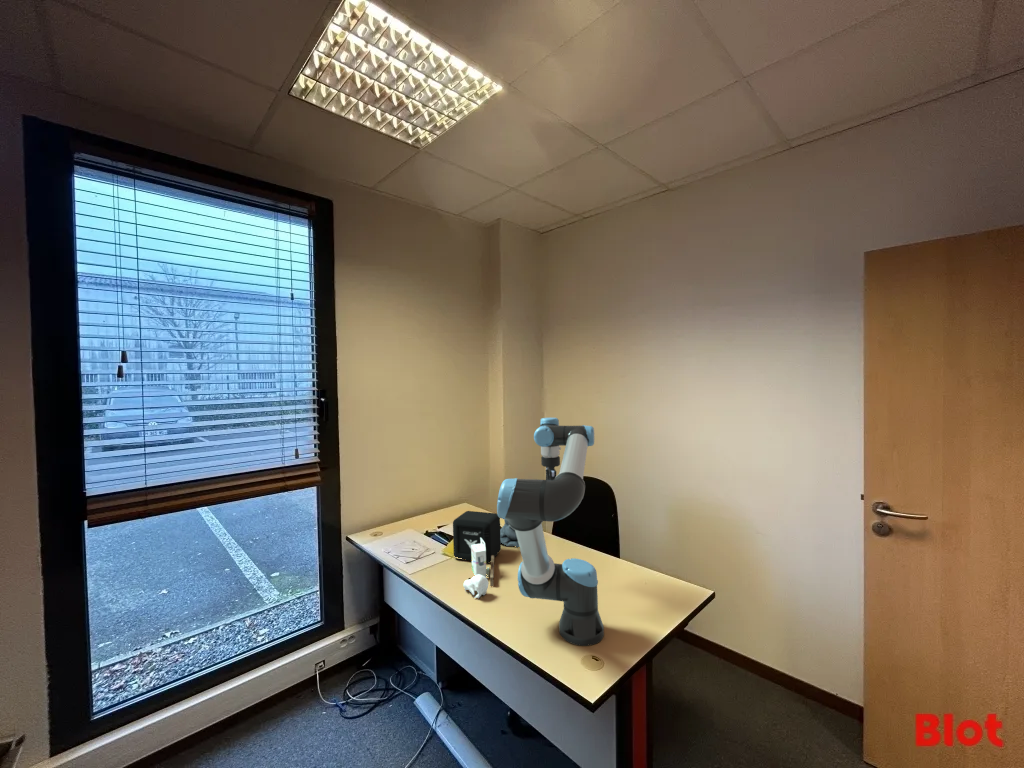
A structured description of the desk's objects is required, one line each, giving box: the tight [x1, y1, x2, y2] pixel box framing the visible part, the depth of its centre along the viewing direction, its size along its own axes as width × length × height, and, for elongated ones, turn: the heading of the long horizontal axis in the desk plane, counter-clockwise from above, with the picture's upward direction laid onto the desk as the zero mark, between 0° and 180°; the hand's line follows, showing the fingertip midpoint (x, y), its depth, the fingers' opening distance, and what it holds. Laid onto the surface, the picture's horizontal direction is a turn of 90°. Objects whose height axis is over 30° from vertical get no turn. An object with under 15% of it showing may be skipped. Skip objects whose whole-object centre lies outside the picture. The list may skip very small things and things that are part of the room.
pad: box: [485, 567, 490, 578], centre depth 183 cm, size 9×9×1 cm
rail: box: [489, 555, 495, 587], centre depth 182 cm, size 22×1×4 cm, turn 2°
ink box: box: [471, 537, 487, 576], centre depth 182 cm, size 9×5×15 cm, turn 20°
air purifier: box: [452, 510, 502, 564], centre depth 201 cm, size 20×15×20 cm
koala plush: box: [500, 519, 519, 548], centre depth 218 cm, size 17×18×20 cm
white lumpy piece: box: [463, 574, 490, 599], centre depth 166 cm, size 6×8×12 cm
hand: (551, 508), depth 164 cm, fingers open, 13 cm apart
